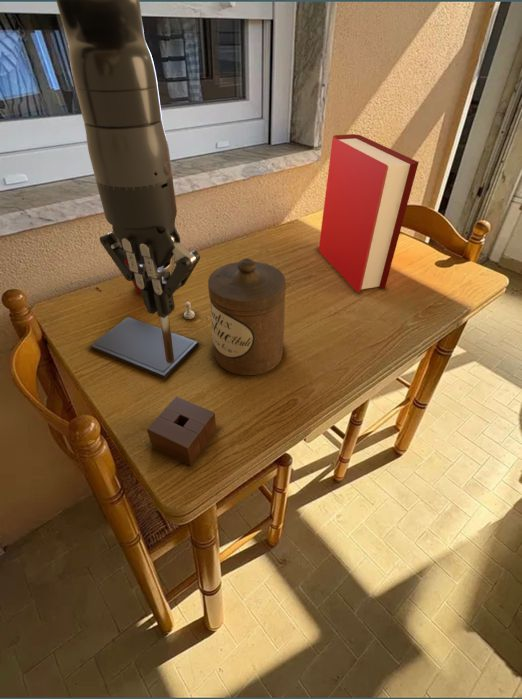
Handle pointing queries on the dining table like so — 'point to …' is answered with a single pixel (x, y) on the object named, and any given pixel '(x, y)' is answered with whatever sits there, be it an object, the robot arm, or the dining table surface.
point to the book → (364, 208)
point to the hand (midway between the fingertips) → (160, 312)
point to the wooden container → (247, 316)
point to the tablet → (143, 346)
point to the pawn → (189, 311)
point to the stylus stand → (182, 430)
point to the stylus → (167, 339)
